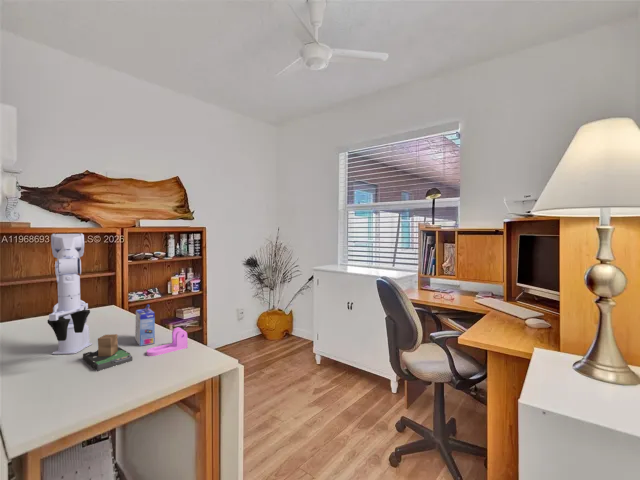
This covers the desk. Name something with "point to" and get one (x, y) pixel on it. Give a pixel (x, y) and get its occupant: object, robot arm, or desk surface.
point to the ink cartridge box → (145, 326)
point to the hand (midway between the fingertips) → (70, 336)
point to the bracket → (177, 343)
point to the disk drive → (107, 359)
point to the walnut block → (107, 345)
